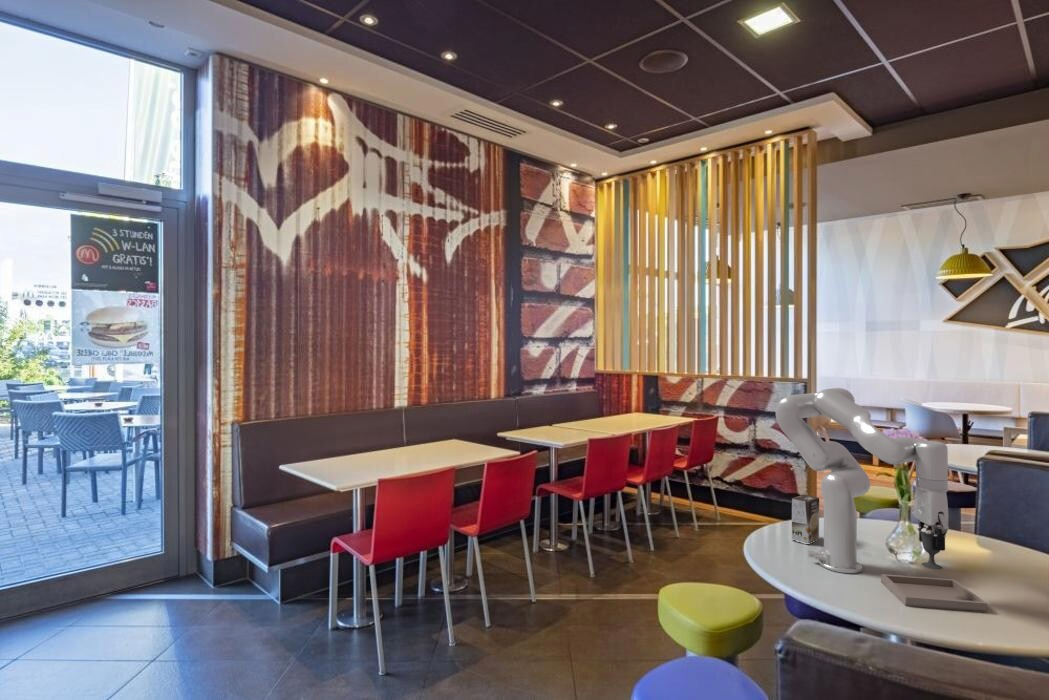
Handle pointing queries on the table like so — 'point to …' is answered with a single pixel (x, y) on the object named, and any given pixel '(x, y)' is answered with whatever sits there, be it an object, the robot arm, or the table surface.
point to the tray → (933, 593)
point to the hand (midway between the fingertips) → (931, 545)
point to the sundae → (928, 545)
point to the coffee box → (805, 518)
